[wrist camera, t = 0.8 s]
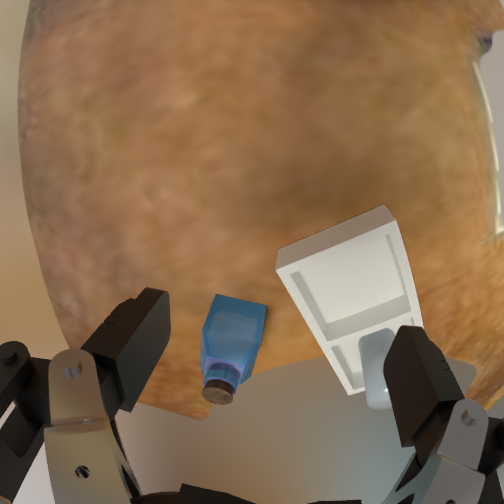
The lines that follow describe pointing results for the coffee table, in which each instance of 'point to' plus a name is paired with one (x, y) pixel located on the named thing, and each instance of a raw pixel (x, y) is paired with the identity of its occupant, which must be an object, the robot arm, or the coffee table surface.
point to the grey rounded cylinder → (375, 366)
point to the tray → (351, 287)
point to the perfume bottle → (229, 346)
